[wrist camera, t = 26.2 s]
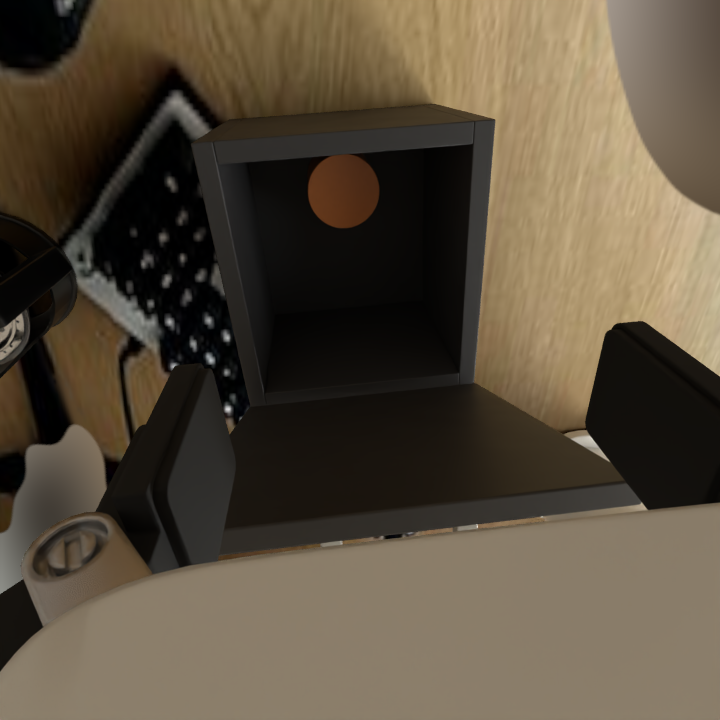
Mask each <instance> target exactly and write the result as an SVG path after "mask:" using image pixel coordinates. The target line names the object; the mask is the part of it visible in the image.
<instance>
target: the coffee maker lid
mask: <svg viewBox="0 0 720 720" xmlns="http://www.w3.org/2000/svg"><path fill="white" fill-rule="evenodd" d="M229 436H230V439H231V443H232V447H233V451H234V455H235V461H236V471H235V476H234V481H233V486H232V491H231V496H230V501H229V506H228V511H227V516H226V521H225V526H224V531H223V536H222V541H221V546H220V551H219V556H221V555H229V554H237V553H245V552H253V551H262V550H270V549H278V548H286V547H295V546H303V545H311V544H319V543H320V545H321V547H327V546H335V545H343V544H342V541H344V540H352V539H361V538H369V537H377V536H385V535H394V534H402V533H410V532H418V531H427V530H435V529H443V528H451V527H453V532H455V531H463V530H472V529H478V528H477V524H484V523H493V522H501V521H509V520H517V519H526V518H534V517H542V516H550V515H559V514H567V513H575V512H583V511H591V510H600V509H608V508H616V507H624V506H633V505H640V504H641V501H640V500H639V498H638V497H637V496H636V494H635V493H634V492H633V491H632V489H631V488H630V487H629V485H628V484H627V483H626V482H625V480H624V479H623V478H622V476H621V475H620V474H619V473H618V471H617V470H616V469H615V467H614V466H613V465H612V464H611V462H609V461H608V460H606V459H604V458H602V457H601V456H599V455H597V454H596V453H594V452H592V451H590V450H589V449H587V448H585V447H584V446H582V445H580V444H579V443H577V442H575V441H573V440H572V439H570V438H568V437H567V436H565V435H563V434H561V433H560V432H558V431H556V430H555V429H553V428H551V427H549V426H548V425H546V424H544V423H543V422H541V421H539V420H538V419H536V418H534V417H532V416H531V415H529V414H527V413H526V412H524V411H522V410H520V409H519V408H517V407H515V406H514V405H512V404H510V403H509V402H507V401H505V400H503V399H502V398H500V397H498V396H497V395H495V394H493V393H491V392H490V391H488V390H486V389H485V388H483V387H481V386H479V385H478V384H476V383H472V384H462V385H453V386H444V387H434V388H425V389H415V390H406V391H396V392H387V393H378V394H368V395H359V396H349V397H340V398H330V399H321V400H312V401H302V402H293V403H283V404H274V405H264V406H255V407H250V408H249V409H248V410H247V412H246V413H245V414H244V416H243V417H242V419H241V420H240V421H239V423H238V424H237V425H236V427H235V428H234V429H233V431H232V432H231V434H230V435H229Z"/></svg>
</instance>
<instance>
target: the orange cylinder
mask: <svg viewBox="0 0 720 720" xmlns="http://www.w3.org/2000/svg"><path fill="white" fill-rule="evenodd" d="M379 191H380V189H379V182H378V178H377V176H376V173H375V172H374V170H373V168H372V167H371V165H370V164H369V162H368V161H367V160H366V158H365V157H364V155H363V154H362V153H357V154H344V155H332V156H319V157H313V158H312V159H311V161H310V164H309V167H308V173H307V192H308V200H309V203H310V206H311V208H312V210H313V211H314V213H315V214H316V216H317V217H318V218H319V219H320V220H322V221H323V222H324V223H326V224H328V225H330V226H333V227H336V228H350V227H354V226H357V225H359V224H361V223H363V222H364V221H365V220H367V219H368V218H369V217H370V216H371V214H372V213H373V211H374V210H375V208H376V206H377V203H378V200H379Z"/></svg>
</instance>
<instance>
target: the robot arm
mask: <svg viewBox="0 0 720 720" xmlns="http://www.w3.org/2000/svg"><path fill="white" fill-rule="evenodd" d="M585 424H586V429H587V430H579V431H574V432H568V433H565V434H563V435H565V436H567V437H568V438H570V439H572V440H573V441H575V442H577V443H579V444H580V445H582V446H584V447H585V448H587V449H589V450H590V451H592V452H594V453H596V454H597V455H599V456H601V457H602V458H604V459H606V460H608V461H609V462H611V464H612V465H613V466H614V467H615V469H616V470H617V471H618V473H619V474H620V475H621V476H622V478H623V479H624V480H625V482H626V483H627V484H628V485H629V487H630V488H631V489H632V491H633V492H634V493H635V494H636V496H637V497H638V498H639V500H640V501H641V504H640V505H633V506H624V507H616V508H608V509H600V510H591V511H583V512H575V513H567V514H559V515H550V516H542V517H541V518H544V520H545V521H543V522H534V523H525V524H516V525H507V526H499V527H490V528H481V529H472V530H463V531H455V532H446V533H437V534H428V535H420V536H412V537H403V538H395V539H386V540H378V541H369V542H361V543H352V544H344V545H335V546H327V547H319V548H310V549H302V550H294V551H286V552H278V553H270V554H262V555H255V556H248V557H242V558H235V559H229V560H222V561H218V556H219V551H220V546H221V541H222V536H223V531H224V526H225V521H226V516H227V511H228V506H229V501H230V496H231V491H232V486H233V481H234V476H235V471H236V461H235V455H234V451H233V447H232V443H231V439H230V436H229V432H228V428H227V424H226V420H225V417H224V413H223V409H222V405H221V401H220V398H219V394H218V390H217V386H216V382H215V378H214V375H213V372H212V370H211V369H204V367H203V365H202V364H201V363H199V364H188V365H178V366H175V367H174V368H173V370H172V372H171V374H170V376H169V378H168V380H167V382H166V384H165V387H164V389H163V391H162V393H161V395H160V397H159V399H158V401H157V403H156V405H155V407H154V409H153V411H152V413H151V415H150V417H149V419H148V421H147V423H146V425H142V426H140V427H139V428H138V429H137V431H136V432H135V434H134V436H133V438H132V440H131V442H130V444H129V446H128V448H127V450H126V452H125V454H124V456H123V458H122V460H121V462H120V464H119V466H118V468H117V470H116V472H115V474H114V476H113V478H112V480H111V482H110V484H109V486H108V488H107V490H106V492H105V494H104V496H103V498H102V500H101V502H100V504H99V506H98V508H97V510H96V512H86V513H82V514H78V515H74V516H71V517H69V518H67V519H64V520H63V521H60V522H58V523H56V524H55V525H53V526H52V527H50V528H49V529H47V530H46V531H44V532H43V533H42V534H41V535H40V536H39V537H38V538H37V539H36V540H35V541H34V542H33V543H32V544H31V546H30V547H29V549H28V550H27V551H26V553H25V554H24V557H23V561H22V563H21V572H22V577H23V580H21V581H20V582H18V583H17V584H15V585H14V586H12V587H11V588H9V589H7V590H6V591H4V592H3V593H1V594H0V720H720V376H718V375H717V374H715V373H714V372H713V371H711V370H710V369H709V368H707V367H706V366H704V365H703V364H702V363H700V362H699V361H698V360H696V359H695V358H693V357H692V356H691V355H689V354H688V353H687V352H685V351H684V350H682V349H681V348H680V347H678V346H677V345H676V344H674V343H673V342H672V341H670V340H669V339H667V338H666V337H665V336H663V335H662V334H661V333H659V332H658V331H656V330H655V329H654V328H652V327H651V326H650V325H648V324H647V323H645V322H643V321H638V322H627V323H617V324H616V325H614V326H613V328H612V330H609V331H607V333H606V334H605V337H604V342H603V346H602V350H601V355H600V359H599V363H598V368H597V372H596V376H595V381H594V385H593V389H592V394H591V398H590V402H589V407H588V411H587V415H586V421H585Z"/></svg>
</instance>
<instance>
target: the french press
mask: <svg viewBox="0 0 720 720" xmlns="http://www.w3.org/2000/svg"><path fill="white" fill-rule="evenodd" d="M0 240H1V241H3V242H5V243H7V244H8V245H10V246H12V247H13V248H15V249H17V250H18V251H19V252H20V253H22V254H23V255H24V256H25V257H26V258H28V259H27V260H25V261H24V262H22V263H21V264H19V265H18V266H16V267H15V268H13V269H12V270H10V271H9V272H7V273H6V274H4V273H3V272H2V271H0V378H1V377H2V376H3V375H4V374H5V373H6V372H7V371H8V370H9V369H10V368H11V367H12V366H13V365H14V364H15V363H16V362H17V361H18V360H19V359H20V358H21V357H22V356H23V355H24V354H25V353H26V352H27V351H28V350H29V349H30V348H31V347H32V346H33V345H34V344H35V343H36V342H37V341H38V340H39V339H40V338H41V337H42V336H43V335H45V334H46V333H47V332H48V331H49V330H50V329H51V328H52V327H54V326H56V325H58V324H59V323H61V322H62V321H63V320H64V319H65V318H66V317H67V316H68V315H69V314H70V312H71V310H72V309H73V307H74V305H75V302H76V298H77V280H76V275H75V272H74V270H73V267H72V265H71V263H70V261H69V259H68V258H67V256H66V254H65V253H64V251H63V250H62V249H61V248H60V247H59V246H58V244H57V243H56V242H55V241H54V240H53V239H52V238H50V237H49V236H48V235H47V234H46V233H45V232H43V231H42V230H40V229H39V228H37V227H36V226H34V225H32V224H31V223H29V222H27V221H25V220H22V219H20V218H18V217H16V216H12V215H8V214H5V213H1V212H0ZM49 290H50V293H51V298H52V305H51V307H50V308H49V309H48V310H47V311H45V312H44V313H42V314H40V315H37V316H33V317H30V313H29V308H28V307H30V306H31V305H32V304H33V303H34V302H36V301H37V300H38V299H39V298H40V297H41V296H43V295H44V294H45V293H46V292H47V291H49Z"/></svg>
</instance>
